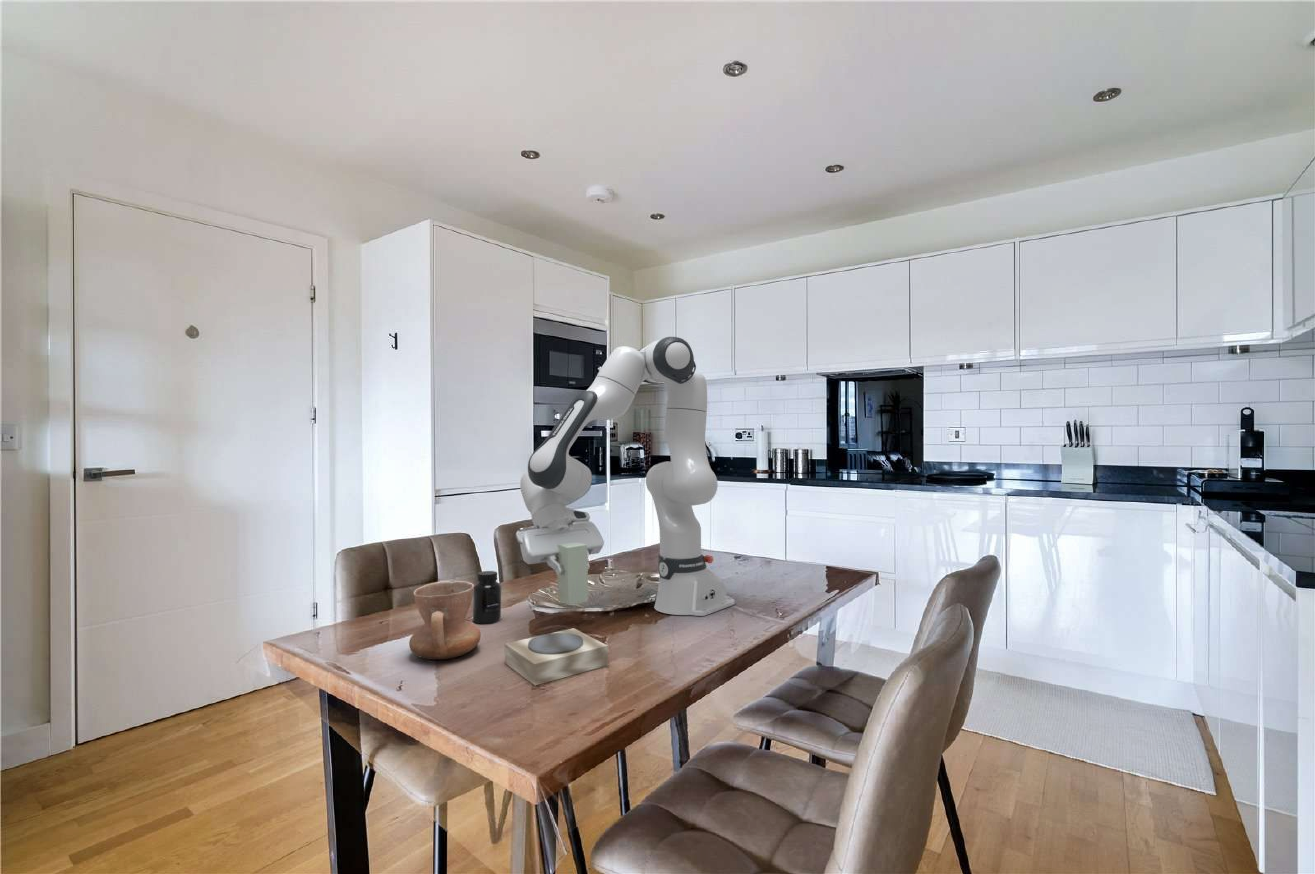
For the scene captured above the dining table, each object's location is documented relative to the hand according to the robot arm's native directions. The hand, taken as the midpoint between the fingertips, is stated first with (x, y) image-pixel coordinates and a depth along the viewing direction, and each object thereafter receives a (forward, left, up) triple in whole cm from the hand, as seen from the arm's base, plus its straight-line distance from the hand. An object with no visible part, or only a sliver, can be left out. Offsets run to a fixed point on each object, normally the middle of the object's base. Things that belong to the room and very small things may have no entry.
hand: (574, 571), depth 140 cm
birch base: (+11, +12, -15) cm, 22 cm away
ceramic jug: (+27, -8, -15) cm, 32 cm away
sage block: (0, -1, -7) cm, 7 cm away
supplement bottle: (+11, -25, -15) cm, 31 cm away
